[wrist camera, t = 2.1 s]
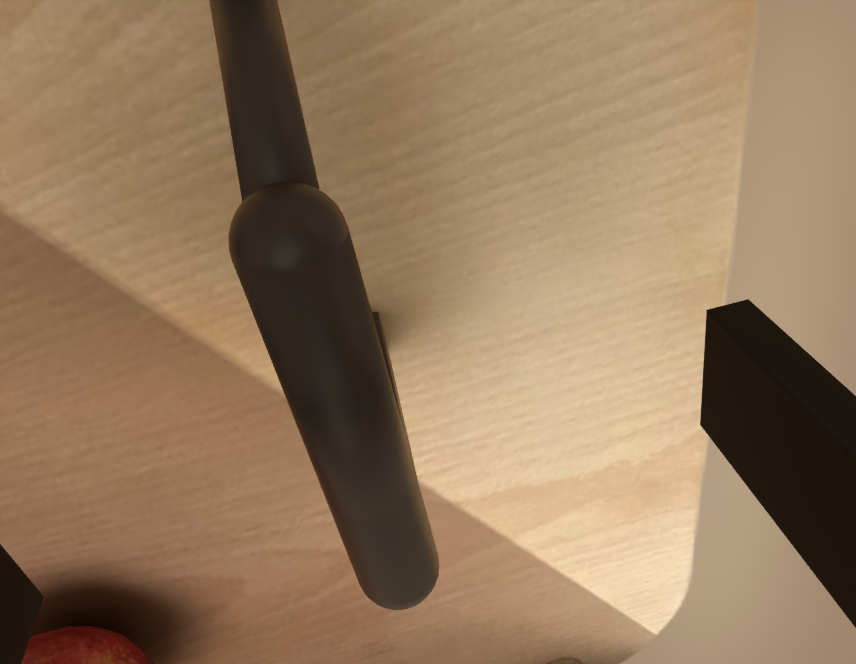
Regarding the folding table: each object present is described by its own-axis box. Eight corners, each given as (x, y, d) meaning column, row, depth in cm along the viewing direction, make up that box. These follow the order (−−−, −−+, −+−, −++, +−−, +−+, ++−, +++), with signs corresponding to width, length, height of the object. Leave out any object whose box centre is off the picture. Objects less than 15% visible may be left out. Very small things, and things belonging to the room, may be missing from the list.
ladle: (-53, -448, 12) (-748, -1122, 4) (286, -515, 12) (294, -1278, 4) (277, 381, 23) (275, 662, 15) (453, 336, 23) (547, 588, 15)
